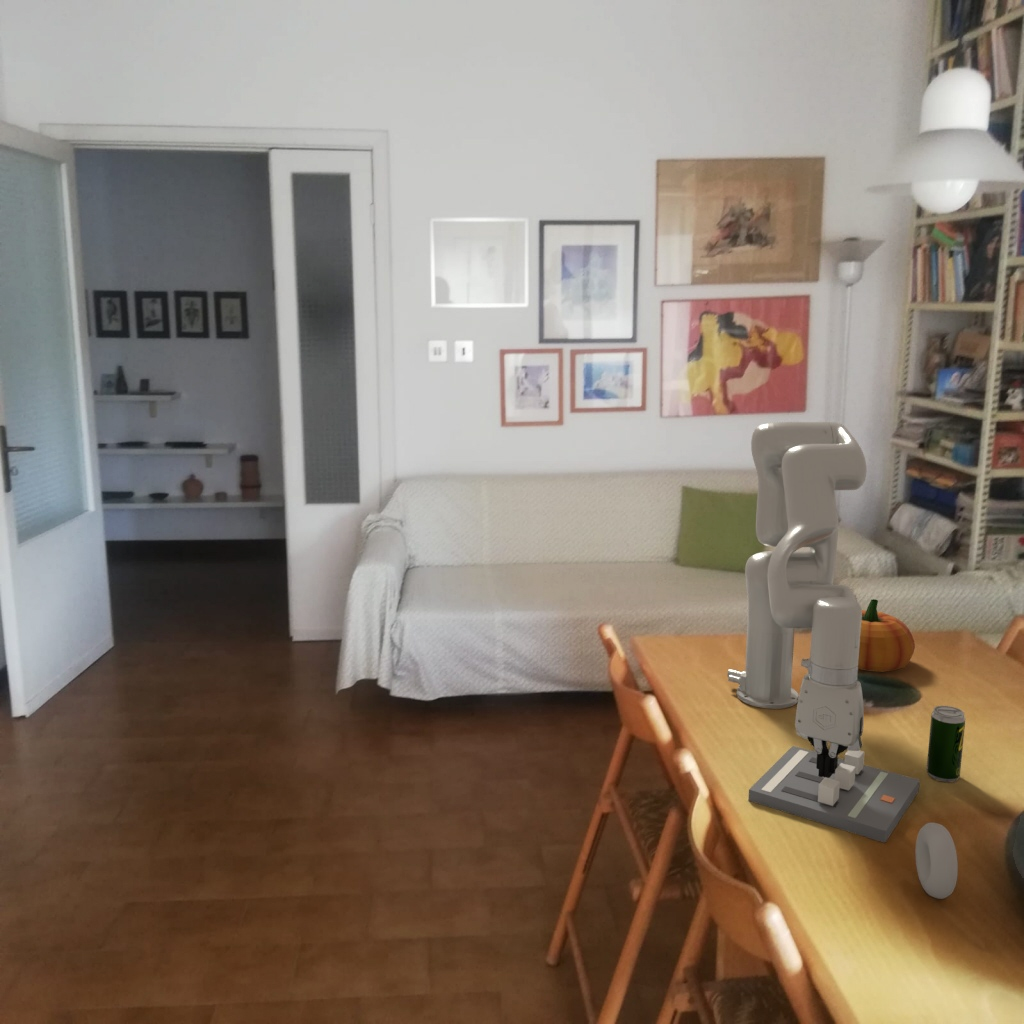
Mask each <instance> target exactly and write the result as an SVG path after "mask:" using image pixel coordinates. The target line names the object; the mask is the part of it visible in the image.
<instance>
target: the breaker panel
mask: <svg viewBox="0 0 1024 1024" xmlns="http://www.w3.org/2000/svg"><path fill="white" fill-rule="evenodd" d="M841 763H843V764H847V765H851V766H855V767H856V769H855V783H854V785H853V786H852V787H851V788H850V790H849V791H848V790H845V789H841V788H840V781H837V780H835V774H834V773H833V774H832V775H831V776H830V778H826V777H819V776H818V774H819V769H817V768H816V765H817V753H816V752H815V750H810V749H806V748H802V747H800V746H799V747H798V746H796V745H791V747H790V748H789V749H788V750H787V751H786V752H785V753H784V754H783V755H782V756H781V757H779V759H778V760H777V761H776V762H775V763H774V764H773V765H772V766H771V767H770V768H769V769H768V770H767V771H766V772H765V773H764V774H763V775H762V776H761V777H760V778H759V779H758V780H757V781H756V782H755V783H754V784H753V785H752V786H751V787H749V788H748V801H749V802H752V803H756V804H758V805H762V806H765V807H767V808H772V809H774V810H777V811H782V812H785V813H788V814H789V815H790V814H791V815H793V816H797V817H800V818H804V819H806V820H807V819H808V820H810V821H813V822H816V823H820V824H823V825H826V826H829V827H833V828H837V829H839V830H842V831H845V832H849V833H852V834H855V835H859V836H861V837H865V838H868V839H870V840H874V841H878V842H881V843H884V844H886V842H887V840H889V838H890V836H891V834H892V833H893V831H894V830H895V828H896V827H897V825H898V824H899V823H900V820H901V819H902V817H903V815H904V814H905V813H906V811H907V810H908V808H909V807H910V805H911V804H912V802H913V801H914V799H915V797H917V795H918V793H919V791H920V782H921V779H918V778H916V777H911V776H909V775H908V776H907V775H904V774H900V773H896V772H892V771H889V770H886V769H881V768H877V767H874V766H871V765H866V764H864V763H865V751H863V750H861V749H860V750H859V751H849V750H846V752H845V753H844V759H843V758H840V757H838V763H837V767H838V766H839V765H840V764H841Z"/></svg>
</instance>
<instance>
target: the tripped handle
mask: <svg viewBox="0 0 1024 1024" xmlns="http://www.w3.org/2000/svg"><path fill="white" fill-rule="evenodd" d="M855 769H856V767H855V766H851V765H847V764H843V763H841V764H840V765H839V766H838V767H837V768H836V769H835V780H837V781H840V788H841V789H845V790H848V791H849V790H850V788H851V787H852V786H853V785H854V783H855Z"/></svg>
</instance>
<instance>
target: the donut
mask: <svg viewBox="0 0 1024 1024" xmlns="http://www.w3.org/2000/svg"><path fill="white" fill-rule="evenodd" d="M914 853H915V865H916V866H915V867H916V871H917V876H918V880H919V882H920V884H921V887H922V888H923V890H924V892H925V893H926V894H927V895H928V896H930V897H931V898H932V897H933V898H935V899H939V900H942V899H943V900H944V899H945V898H947V897H949V896H951V894H952V893H953V892H954V890H955V888H956V885H957V881H958V872H959V871H958V869H959V867H958V865H959V864H958V855H957V849H956V845H955V842H954V840H953V837H952V835H951V833H950V832H949V830H948V829H947V828H946V827H945V826H944V825H942V824H940V823H936V822H927V823H925V824H923V826H922V827H921V828H920V829H919V831H918V834H917V837H916V842H915V851H914Z"/></svg>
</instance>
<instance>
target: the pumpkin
mask: <svg viewBox="0 0 1024 1024" xmlns="http://www.w3.org/2000/svg"><path fill="white" fill-rule="evenodd" d="M878 603H879V599H874V598H872V599H870V602H869V604H868V605H867V608H866V610H864V609H863V610H862V619H861V633H860V645H859V659H858V670H862V671H871V672H880V673H882V672H890V671H895V670H899V669H902V668H905V667H906V666H907V665H908V664H909V662H910V660H911V659H912V657H913V654H914V652H915V648H916V647H915V645H916V644H915V640H914V637H913V635H912V634H913V633H911V630H910V629H909V627H908V626H907V625H906V623H904V622H903V621H902V620H901V619H898V618H897V617H895V616H893V615H890V614H887V613H885V612H882V611H878V608H877V607H878Z"/></svg>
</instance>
